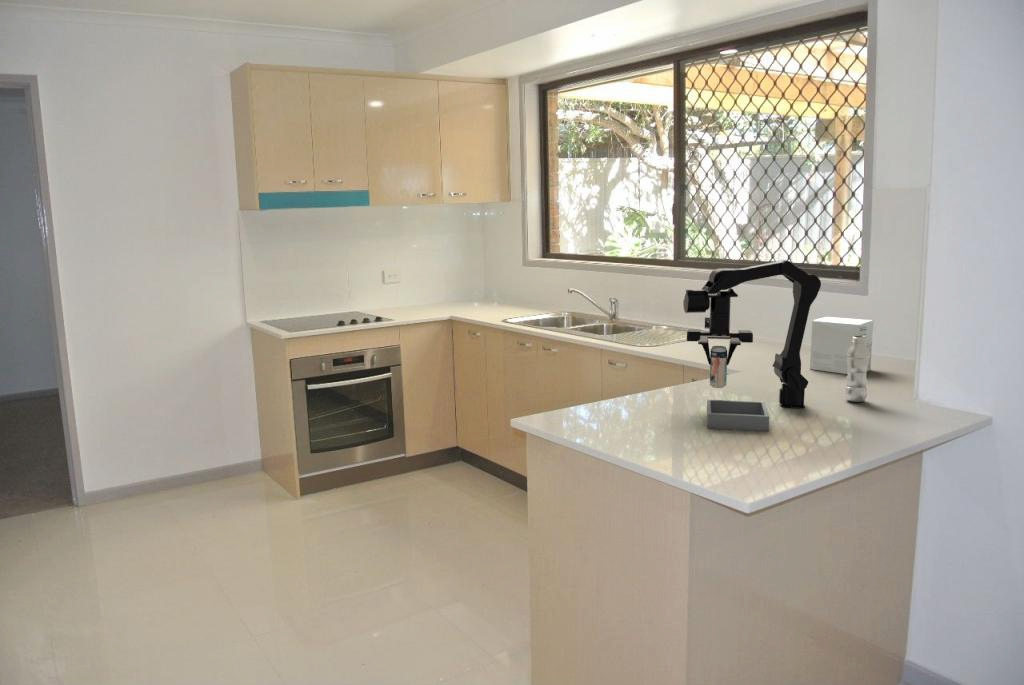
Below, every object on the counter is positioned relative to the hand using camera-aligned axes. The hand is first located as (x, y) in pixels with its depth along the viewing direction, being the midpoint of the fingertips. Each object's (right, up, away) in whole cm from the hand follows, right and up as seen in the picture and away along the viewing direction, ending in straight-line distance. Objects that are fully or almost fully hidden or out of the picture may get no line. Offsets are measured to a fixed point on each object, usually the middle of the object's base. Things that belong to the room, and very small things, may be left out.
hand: (718, 364), depth 239 cm
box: (+1, -16, -14) cm, 21 cm away
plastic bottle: (+43, -12, +6) cm, 45 cm away
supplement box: (+56, -4, +51) cm, 76 cm away
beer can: (0, -7, +1) cm, 7 cm away
